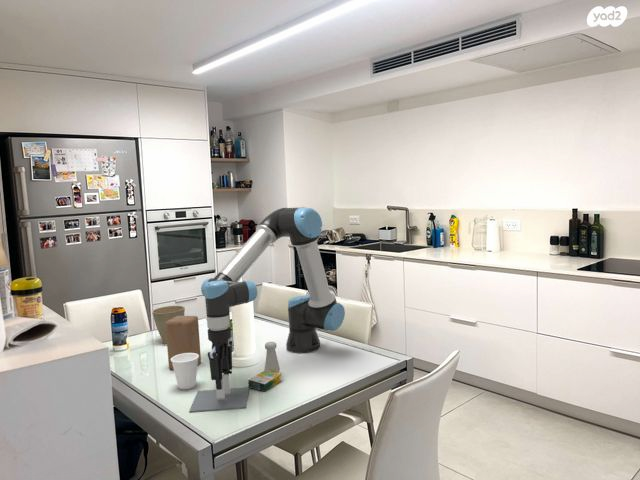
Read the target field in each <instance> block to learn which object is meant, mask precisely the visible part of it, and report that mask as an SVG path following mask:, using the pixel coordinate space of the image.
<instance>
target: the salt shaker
mask: <svg viewBox="0 0 640 480" xmlns="http://www.w3.org/2000/svg"><path fill="white" fill-rule="evenodd" d="M264 349H265V350H266V354H265V361H264V370H263V371H265V370H268V371H270V372H274V371H277V372H280V370H281V367H280V364H279V360H278V359H279V358H278V355H277V352H276V349H277V343H276V342H275V341H268V342H267V341H266V343H265V344H264ZM277 372H274V373H277Z"/></svg>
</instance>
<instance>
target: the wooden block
mask: <svg viewBox="0 0 640 480" xmlns="http://www.w3.org/2000/svg"><path fill="white" fill-rule="evenodd" d="M166 337H167V344H166V346H167V347H166V348H167V357H168V358H167V359H168V368H169V370H174V368H173V364H172V361H171V358H172V357H174V356H176V355H179V354H183V353H196V354H198V355H199V357H198V365H199V364H200V363H201V361H202V357H201V356H202V354H201V343H200V329H199V317H198V316H197V315H184V316H176V317H174V318H172V319H170V320H168V321H166Z"/></svg>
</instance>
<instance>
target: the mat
mask: <svg viewBox="0 0 640 480" xmlns="http://www.w3.org/2000/svg"><path fill="white" fill-rule="evenodd" d="M249 392H250V387H248V386H246V387H232V388H231V387H230V393H229V394H227V393H225V398H217V395H216V389H206V390H198V391H197V392H196V395H195V397H194V398H193V401H192V403H191V405H190V408H189V410H188V412H189V413H201V412H212V411H213V412H214V411H216V412H217V411H227V410H240V409H241V410H242V409H247V403H248V400H249V399H248V398H249V394H250V393H249Z"/></svg>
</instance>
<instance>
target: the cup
mask: <svg viewBox="0 0 640 480" xmlns="http://www.w3.org/2000/svg"><path fill="white" fill-rule="evenodd" d="M198 357H199V355H198V354H196V353H183V354H179V355H176V356H174V357H172V358H171V361H172V364H173V368H174V369H173V373H174V375H175V379H176V380H175V381H176V383H177V387H178V388H179V389H180V390H190V389H192V388H194V387H195V386H196V384H197V376H198V365H199V364H198Z"/></svg>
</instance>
